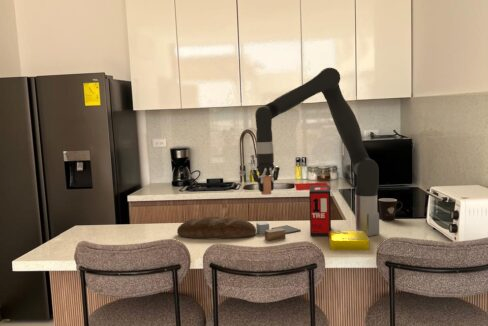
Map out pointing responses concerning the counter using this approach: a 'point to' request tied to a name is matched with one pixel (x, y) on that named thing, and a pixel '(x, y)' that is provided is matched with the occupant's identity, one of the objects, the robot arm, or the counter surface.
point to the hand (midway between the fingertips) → (266, 190)
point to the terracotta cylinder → (266, 185)
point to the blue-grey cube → (262, 227)
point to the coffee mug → (388, 208)
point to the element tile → (348, 240)
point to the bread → (216, 228)
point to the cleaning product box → (320, 211)
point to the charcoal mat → (288, 229)
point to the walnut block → (275, 234)
